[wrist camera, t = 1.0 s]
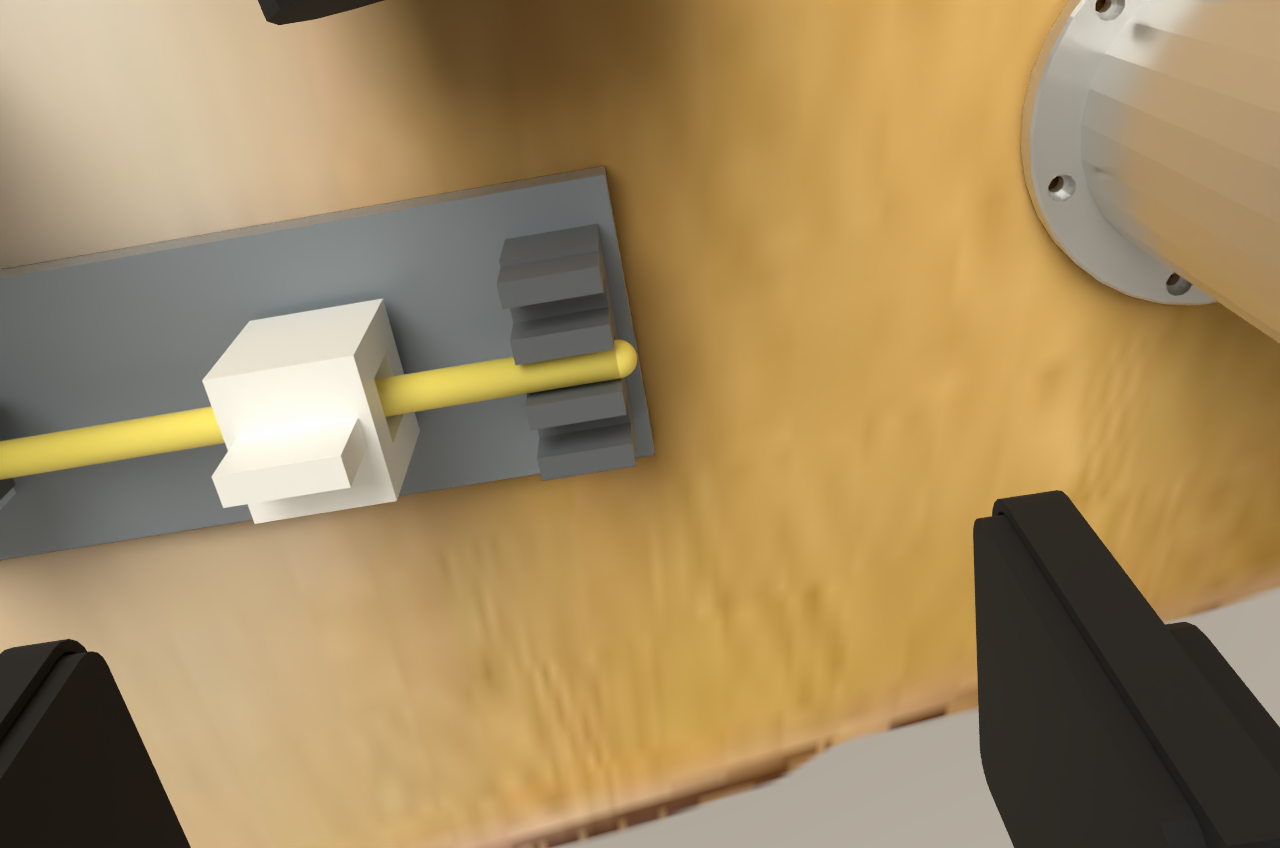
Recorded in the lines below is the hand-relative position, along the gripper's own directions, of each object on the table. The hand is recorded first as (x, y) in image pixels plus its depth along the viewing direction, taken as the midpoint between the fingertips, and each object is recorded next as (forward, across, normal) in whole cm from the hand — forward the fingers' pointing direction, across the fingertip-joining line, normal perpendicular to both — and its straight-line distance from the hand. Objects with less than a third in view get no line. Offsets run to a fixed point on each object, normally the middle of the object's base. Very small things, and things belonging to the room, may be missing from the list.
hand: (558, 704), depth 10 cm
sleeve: (+26, +10, +7) cm, 29 cm away
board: (+28, +13, +7) cm, 31 cm away
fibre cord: (+24, +11, +7) cm, 28 cm away
